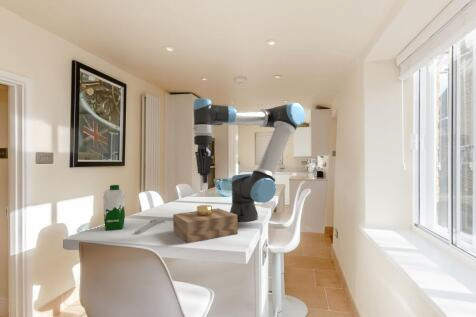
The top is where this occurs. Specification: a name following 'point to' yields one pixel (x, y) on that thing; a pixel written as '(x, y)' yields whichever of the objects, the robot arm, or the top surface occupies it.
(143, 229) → the adjustable wrench
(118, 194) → the milk carton
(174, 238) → the top surface
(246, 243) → the top surface
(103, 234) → the top surface
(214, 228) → the block
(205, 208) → the pin
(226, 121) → the robot arm
